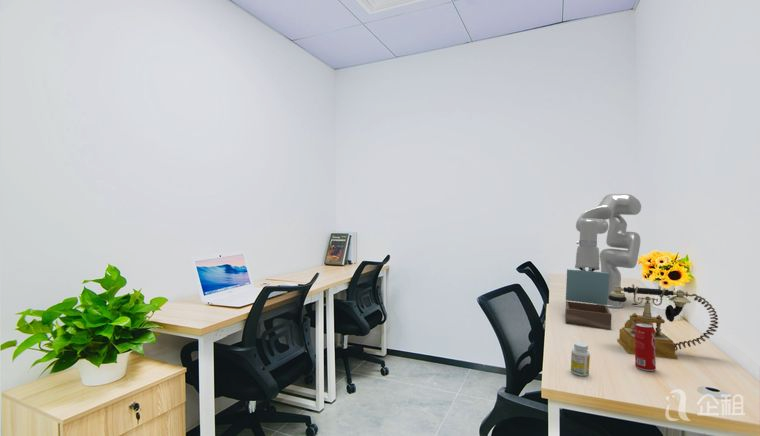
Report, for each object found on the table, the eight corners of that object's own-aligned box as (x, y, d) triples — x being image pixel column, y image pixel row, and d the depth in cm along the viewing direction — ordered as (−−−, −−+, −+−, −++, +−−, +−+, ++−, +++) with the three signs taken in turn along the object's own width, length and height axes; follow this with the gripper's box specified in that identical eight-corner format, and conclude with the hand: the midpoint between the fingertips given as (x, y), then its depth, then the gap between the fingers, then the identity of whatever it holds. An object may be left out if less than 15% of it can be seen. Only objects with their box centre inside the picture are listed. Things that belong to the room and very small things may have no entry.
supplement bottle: (577, 376, 122) (578, 347, 121) (567, 369, 127) (568, 341, 127) (592, 376, 122) (593, 347, 122) (582, 368, 128) (583, 341, 127)
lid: (565, 300, 190) (565, 299, 191) (607, 305, 182) (606, 304, 183) (567, 269, 187) (567, 269, 188) (609, 273, 180) (608, 272, 181)
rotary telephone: (698, 346, 150) (701, 284, 149) (724, 364, 133) (728, 294, 132) (598, 336, 160) (601, 277, 159) (611, 351, 143) (614, 286, 142)
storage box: (565, 314, 190) (565, 301, 190) (606, 320, 183) (607, 305, 182) (566, 323, 176) (566, 309, 176) (610, 330, 168) (611, 314, 168)
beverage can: (655, 373, 125) (657, 329, 124) (631, 368, 129) (634, 325, 128) (655, 367, 130) (658, 324, 129) (633, 362, 134) (635, 320, 133)
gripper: (571, 243, 186) (569, 280, 187) (606, 245, 179) (604, 284, 180) (570, 242, 193) (569, 278, 194) (604, 244, 186) (603, 281, 187)
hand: (586, 280), depth 187 cm, fingers closed
